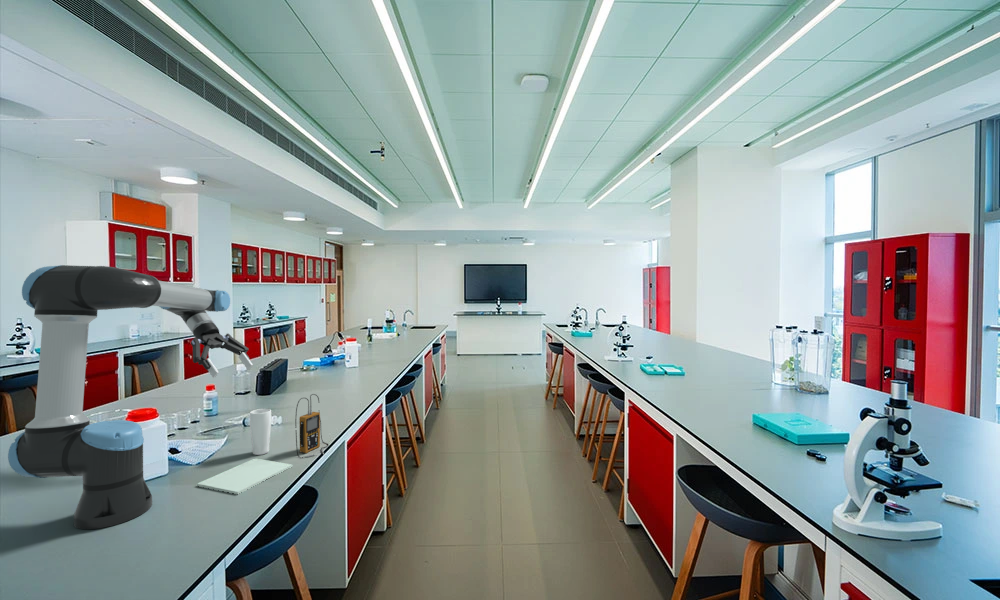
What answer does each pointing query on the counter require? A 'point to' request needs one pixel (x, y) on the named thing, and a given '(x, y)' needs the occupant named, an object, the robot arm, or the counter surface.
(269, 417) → the white cup
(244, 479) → the mat
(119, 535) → the counter surface
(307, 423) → the multimeter
